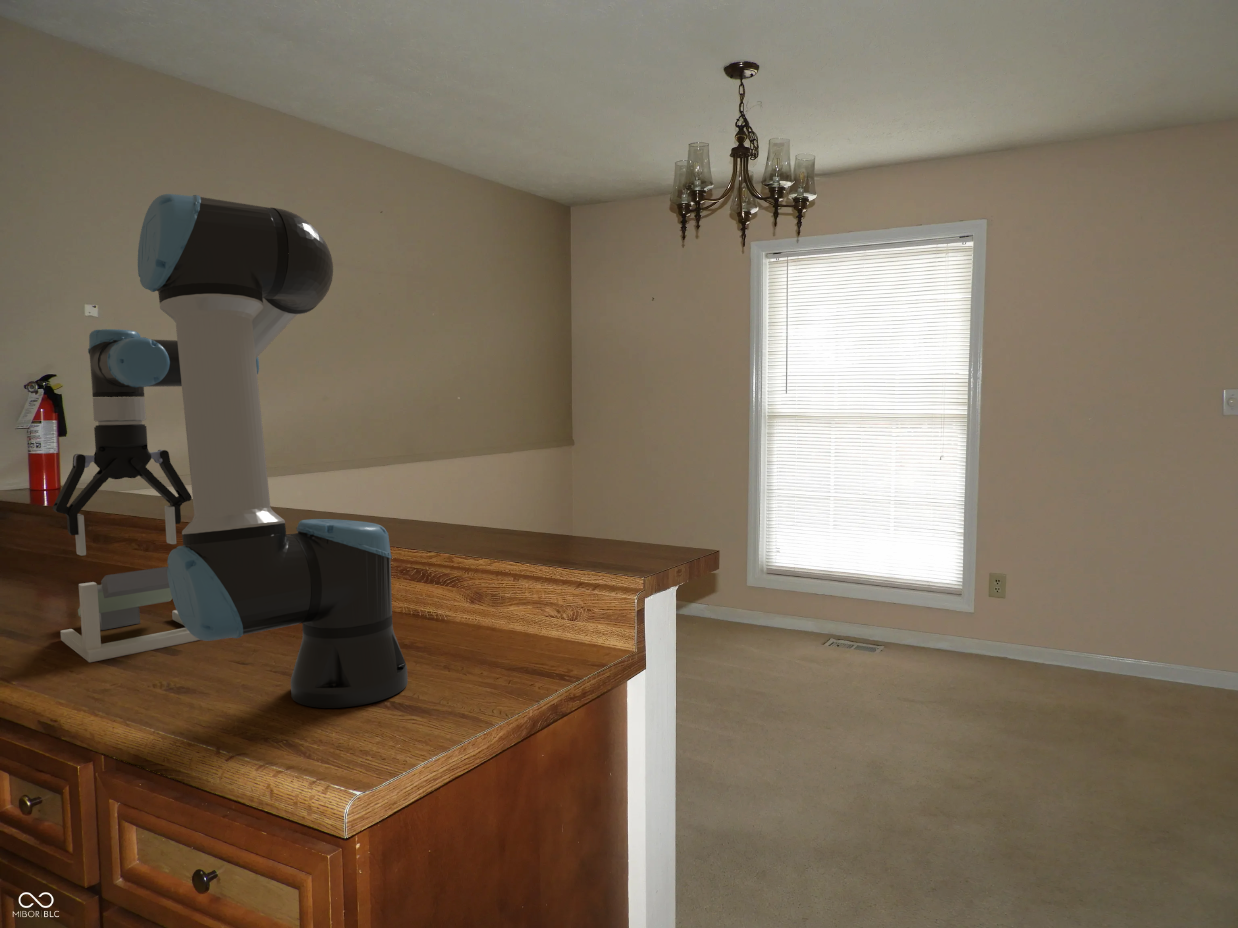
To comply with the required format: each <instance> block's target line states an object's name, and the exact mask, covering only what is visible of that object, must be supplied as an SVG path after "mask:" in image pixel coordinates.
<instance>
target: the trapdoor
mask: <svg viewBox="0 0 1238 928" xmlns="http://www.w3.org/2000/svg"><path fill="white" fill-rule="evenodd" d="M167 569H168V566H162V567H156V568H155V567H154V568H147V569H142V570H135V571H133V570H132V571H127V572H119V573H115V574H114V573H113V574H107V575H104V577H103V578H102V579H101V581H100V583H101V584H97V590H98V606H99V613H103V612H109V611H115V610H121V609H127V608H132V607H138V606H139V607H144V606H149V605H155V604H161V603H167V602H171V600H173V599H172V595H171V591H170V587H169V581H168V574H167ZM77 613H78V617H80V618H81V613H80V606H79V607H78V609H77Z"/></svg>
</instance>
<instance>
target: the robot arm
mask: <svg viewBox="0 0 1238 928" xmlns="http://www.w3.org/2000/svg"><path fill="white" fill-rule="evenodd" d="M140 230H141V231H140V234H139V241H138V250H137V274H138V277H139V278H140V279H139V283H140V284H141V286H142V287H143V288H144V289H145V290H148V291H150V292H151V293H155V292H158V299H159V301H158V302H159V309H160V310H161V311H162V312H164V313H165V314H166V315H167V316H168V317H169V318H171V319H172V320H173V321H174V323H175V329H176V340H174V339H150V338H147V337H144V336H143V337H142V336H141V334H140V333H139V332H138V331H136V330H132V329H131V330H130V329H119V328H118V329H117V328H114V329H113V328H112V329H111V328H105V329H94V330H92V331H91V332H90V333H89V336H88V337H89V338H88V345H89V346H88V347H89V348H88V349H87V354H88V355H89V365H90V366H89V367H90V379H91V381H90V382H91V393H92V395H91V396H92V409H93V410H92V411H93V412H92V413H93V414H92V415H93V421H94V422H97V425H95V426H94V427H93V428H94V429H93V430H94V446H95V447H94V448H95V451H94V454H93V455H89V454H83V453H82V454H81V453H75V454H74V455H73V456H72V467H71V470H70V472H69V473H68V476H67V478H65V482H64V484H63V485H62V488H61V489H60V491H59V494H58V495H57V496H56V499H55V502H54V504H53V506H52V507H51V509H52V510H53V511H54V512H56V513H58V514H63V515H65V516H66V522H67V523H66V524H67V527H66V528H67V533H68V535H70V536H75V537H74V538H75V548H76V549H75V550H76V554H77V555H79V556H81V557H82V556H86V555H87V546H86V531H85V530H86V529H85V517H84V514H81V513H80V511H82V509H83V508H84V507H85V506H86V505H87V503H88V502H89V501H90V500H91V499H92V497H93V496H94V495H95V494H97V493H96V492H98V491H99V489H101V487H102V486H103V485H104V484H105V483H106V482H107V481H108V479H110V480H111V479H112V480H123V479H136V478H138V477H140V478H141V479H143V480H144V481H145V482H146V483H147V484H148V485H149V486H150V487H151V488H152V489H153V490H154V491H156V493H158V494H159V495H160V496H161V497H162V498H163V499H164V500H165V501H166V502H168V504H169V505H164V516H165V517H164V522H165V538H166V540H165V541H166V543H167V544H170V545H177V529H176V525H178V524H179V525H180V524H181V522H182V517H181V516H182V514H181V506H182V505H183V504H184V503H187V502H190V501H191V500H192V502H193V503H192V505H193V517H192V520H191V521H190V522H189V523H188V524H187V526H185V527H184V529H183V530H182V531H181V535H182V536H181V538H182V545H179V546H177V547H176V548H173V549H172V550H171V551H170V552H169V555H168V557H167V561H166V562H167V563H166V564H167V567H168V569H167V574H168V581H169V587H170V591H171V595H172V599H171V600H172V601H173V604H174V608H175V610H177V612H178V614H179V617H180V619H181V620H182V622H183V624H184V625H183V626H184V628H186V629H187V630H188V631H189V632H190V633H191V634H192V635H193V636H194V637H196V638H198V639H200V640H199V641H205V642H207V641H208V642H211V641H212V642H213V641H217V640H225V639H231V638H232V639H239V638H241V637H242V636H245V635H249V634H256V633H261V632H265V631H269V630H275V629H280V628H285V627H291V626H295V625H300V624H301V625H302V640H301V642H300V646H299V650H298V654H297V656H296V660H295V663H294V664H295V665H294V668H293V671H292V674H291V678H290V693H291V695H290V696H291V699H292V700H293V701H294V702H296V703H298V704H299V705H303V706H306V707H310V708H312V707H313V708H322V709H335V708H336V709H337V708H350V707H357V706H363V705H368V704H372V703H377V702H380V701H383V700H386V699H388V698H391V697H393V696H395V695H397V694H399V693H400V692H402V691H403V690H405V688H406V687H407V686H408V683H409V682H408V666H407V663H406V660H405V658H404V654H403V653H402V650H401V647H400V645H399V642H398V639H397V637H396V634H395V631H394V627H393V626H394V625H393V602H392V601H393V600H392V599H393V598H392V597H393V596H392V567H391V565H392V557H393V556H392V554H391V553H392V552H391V546H390V539H389V538H390V537H389V532H388V531H387V530H386V528H385V527H384V526H383V525H380V524H378V523H375V522H368V521H361V520H359V521H358V520H351V519H350V520H349V519H334V518H333V519H329V518H326V519H324V518H323V519H322V518H313V519H312V518H310V519H302V520H300V521H299V522H298V524H297V527H296V528H295V529H296V532H295V533H290V534H287V530H286V529H287V528H286V521H285V519H284V518H282V517H281V516H280V515H278V513H276V512H275V511H274V510H273V509H272V508H271V501H270V499H271V498H270V491H269V490H270V489H269V488H270V487H269V480H268V468H267V458H266V449H265V440H264V431H263V420H262V419H263V418H262V410H261V409H262V407H261V399H260V389H259V378H258V375H259V371H260V361H259V360H260V359H259V356H260V355H261V354H262V353H263V352H264V351H265V350H266V348H267V347H268V346H270V345H271V344H272V342H273V341H274V340H276V338H277V337H278V336H279V335H280V334H281V333H282V332H283V331H284V330H286V328H287V327H288V325H289V324H290V323H291V322H292V321H293V320H295V318H296V317H297V316H298V315H305V314H307V313H310V312H311V311H313V310H314V309H315V308H317V306H318V305H319V304H320V303H321V302H323V300H324V298H325V297H326V296H327V295H328V292H329V290H330V288H331V286H332V282H333V278H334V277H333V275H334V264H333V263H334V262H333V257H332V254H331V251H330V248H329V246H328V244H327V243H326V241H325V239H324V237H323V236H322V235H321V233H320V232H319V230H317V228H316V227H314V226H313V225H312V224H311V223H310V222H308V220H306V219H304V218H303V217H302V216H300V215H298V214H296V213H294V212H293V211H292V212H291V211H289V210H286V209H283V208H277V207H269V206H259V205H254V204H247V203H242V202H234V201H230V200H229V201H228V200H223V199H222V200H221V199H215V198H210V197H204V196H203V197H202V196H200V194H199V195H198V194H193V195H184V194H174V193H163V194H161V195H158V196H157V197H155V199H154V200H152V202H151V203H150V204H149V207H148V208H147V211H146V213H145V214H144V219H143V222H142V224H141V229H140ZM147 387H149V388H150V387H152V388H153V387H160V388H161V387H166V388H167V387H168V388H169V387H173V388H174V387H181V393H182V401H183V411H184V422H185V431H186V432H185V433H186V442H187V444H186V445H187V453H188V462H189V463H188V464H189V472H190V475H189V476H190V482H191V493H190V491H189V490H188V488H187V487H186V485H185V484H184V482H183V480H182V478H181V477H180V476H179V473H178V472H177V471H176V469H175V467H174V466H173V464H172V462H171V457H170V453H169V451H168V450H166V449H158V450H156V451H149V449H148V448H149V447H148V432H147V431H148V430H147V425H146V424H145V423H143V422H144V421H146V420H147V415H146V414H147V413H146V398H145V388H147ZM151 460H153V461H154V463H156V464H159V467H160V469H161V471H162V472H163V474H164V475H165V477H166V478H167V480H168V482H169V483H170V485H171V486H172V488H173V490H174V491H175V493H176V494H177V495H175V494H174V493H173V492H172V491H171V490H170V488H168V487H167V486H165V484H164V483H162V481H161V480H159V479H158V477H156V476H155V475H154V473H153V472H152V471H151V470H149V468H148V467H147V465H148V464H149V463H150V462H151ZM91 463H93V464H94V465H96V467H97V468H98V471H97V472H95V474H94V475H93V477H92V478H91V480H90V481H89V482H87V484H86V486H85V487H84V488H83V489H82V490H81V491H80V492H79V494H78V495H77V496H76V497H75V498H74V499H73V501H71V499H72V496H73V495H74V492H75V490H76V488H77V486H78V484H79V483H80V481H81V478H82V476H83V474H84V472H85V469H87V468H89V467H90V465H91ZM191 494H192V495H191ZM70 501H71V503H70ZM69 503H70V504H69ZM68 504H69V505H68Z"/></svg>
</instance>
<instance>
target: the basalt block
mask: <svg viewBox="0 0 1238 928" xmlns="http://www.w3.org/2000/svg"><path fill="white" fill-rule="evenodd" d="M99 622H100V631H105V630H110V629H115V628H116V629H117V628H121V627H126V626H127V627H128V626H132V625H138V624H141V615H140V606H138V607H132V608H127V609H121V610H115V611H109V612H103V613H99Z"/></svg>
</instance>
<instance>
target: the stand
mask: <svg viewBox="0 0 1238 928" xmlns="http://www.w3.org/2000/svg"><path fill="white" fill-rule="evenodd" d="M97 585H98V583H96V582H94V581H92V582H91V581H90V582H85V583H84V582H83V583H78V596H79V607H80V613H81V616H80V624H81V625H80V627H81V634H80V633H78V632H77V631H75V630H74V629H72V628H69V629H63V630H60V641H62V642H63V643H64V644H65V645H66V646H68V647H69V648H70V649H72V650H73V651H75V653H77V654H78V655H79V656H80V657H82V658H83V659H85V660H86V661H87V662H88V663H93V662H98V661H99V662H101V661H103V660H104V661H105V660H108V659H109V660H110V659H113V658H118V657H123V656H129V655H133V654H138V653H142V652H143V653H144V652H148V651H152V650H158V649H162V648H168V647H171V646H177V645H183V644H187V643H192V642H196V641H201V640H200V639H198V638H196V637H194V636H193V635H192V634H191V633H190V632H189V631H188V630H187V629H186V627H181V628H177V629H173V630H168V631H161V632H157V633H151V634H146V635H141V636H136V637H129V638H125V639H121V640H115V641H111V642H110V641H109V642H106V643H102V641H101V640H102V639H101V629H100V622H99V606H98V590H97ZM171 612H172V613H171V614H172V616H171V617H172V621H175V622H177V623H179V624H180V625H182V626H184V624H183V622H182V620H181V619H180V617H179V614H178V612H177V610H176V609H174V610H172V611H171Z"/></svg>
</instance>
